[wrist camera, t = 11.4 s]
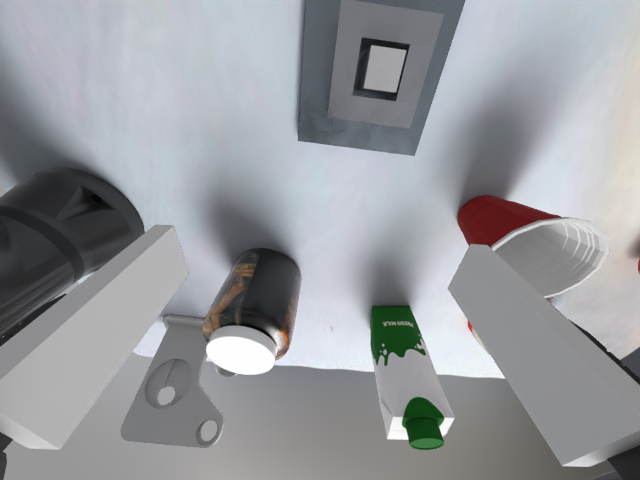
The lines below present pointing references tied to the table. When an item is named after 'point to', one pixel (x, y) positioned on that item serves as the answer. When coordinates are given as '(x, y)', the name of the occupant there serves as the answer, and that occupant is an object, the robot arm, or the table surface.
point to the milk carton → (407, 380)
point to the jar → (253, 313)
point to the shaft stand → (366, 78)
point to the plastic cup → (536, 242)
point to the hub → (386, 31)
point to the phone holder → (190, 398)
